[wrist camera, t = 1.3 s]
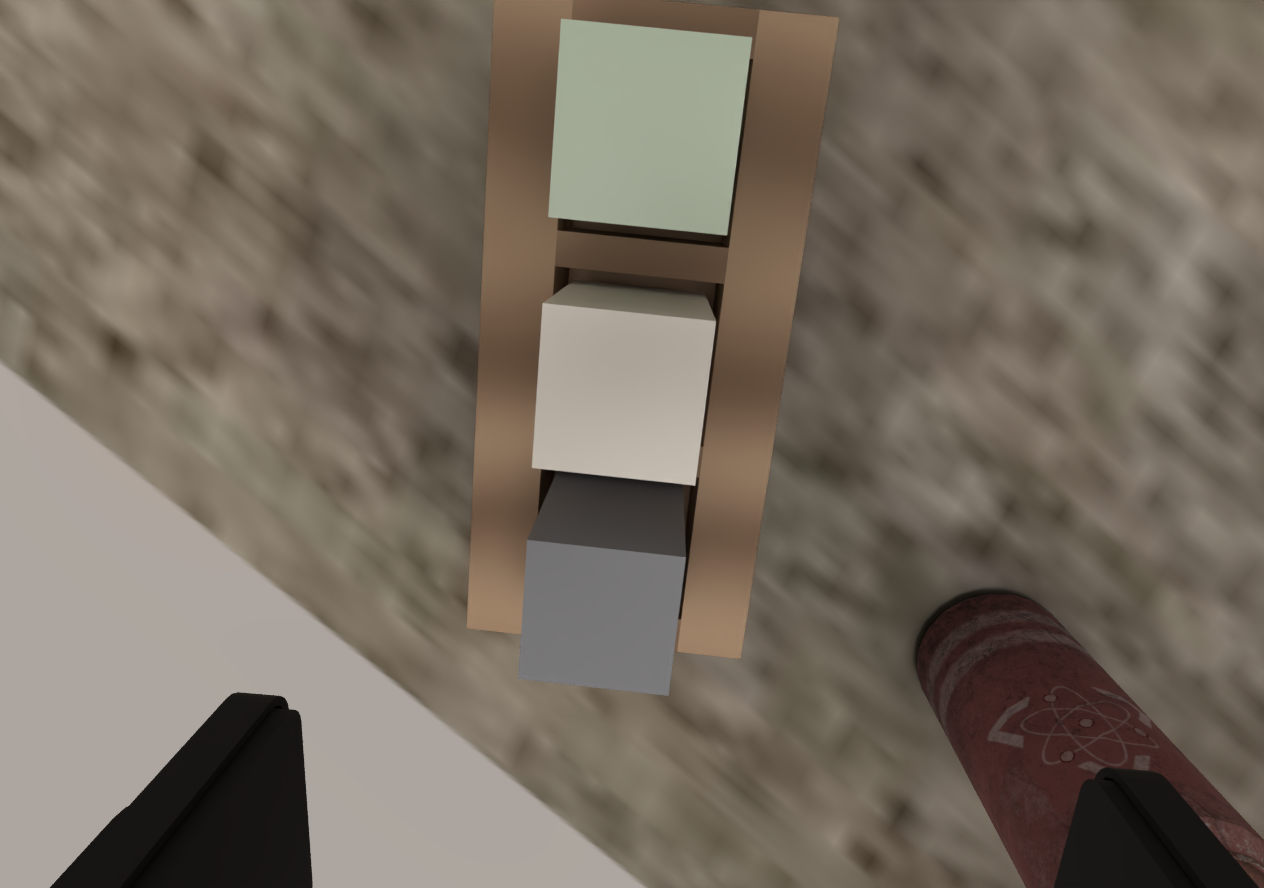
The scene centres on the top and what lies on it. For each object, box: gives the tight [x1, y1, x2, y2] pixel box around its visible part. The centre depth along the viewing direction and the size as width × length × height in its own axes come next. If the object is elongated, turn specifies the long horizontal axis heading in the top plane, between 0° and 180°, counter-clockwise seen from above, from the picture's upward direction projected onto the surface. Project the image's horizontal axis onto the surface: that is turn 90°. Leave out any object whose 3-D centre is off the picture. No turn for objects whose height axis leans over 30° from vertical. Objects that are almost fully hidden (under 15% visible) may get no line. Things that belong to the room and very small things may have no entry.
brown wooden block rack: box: [467, 0, 839, 659], centre depth 28 cm, size 21×10×5 cm, turn 174°
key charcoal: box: [518, 471, 686, 696], centre depth 26 cm, size 4×4×7 cm
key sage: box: [548, 19, 752, 235], centre depth 22 cm, size 4×4×7 cm
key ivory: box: [532, 280, 716, 485], centre depth 24 cm, size 4×4×7 cm
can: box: [917, 594, 1264, 888], centre depth 27 cm, size 6×6×14 cm
